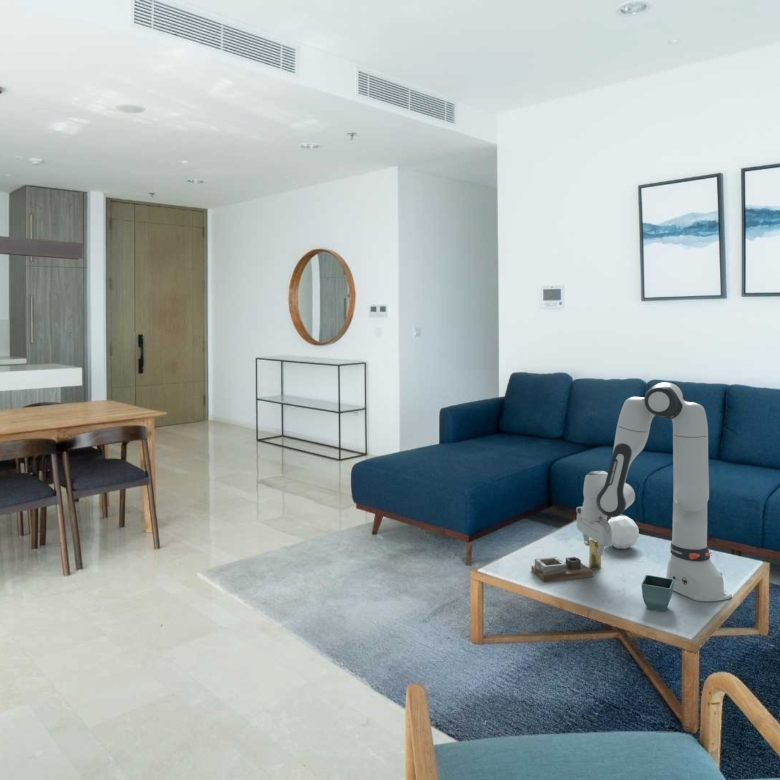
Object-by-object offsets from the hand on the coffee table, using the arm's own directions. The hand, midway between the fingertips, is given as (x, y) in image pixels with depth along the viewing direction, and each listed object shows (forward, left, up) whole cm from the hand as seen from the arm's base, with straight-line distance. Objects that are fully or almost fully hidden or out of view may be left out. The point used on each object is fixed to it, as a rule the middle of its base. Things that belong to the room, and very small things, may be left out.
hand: (593, 549), depth 258 cm
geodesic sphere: (+16, -22, -7) cm, 28 cm away
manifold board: (-4, +14, -7) cm, 16 cm away
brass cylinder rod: (0, -1, -7) cm, 7 cm away
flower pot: (-39, -2, -7) cm, 39 cm away
